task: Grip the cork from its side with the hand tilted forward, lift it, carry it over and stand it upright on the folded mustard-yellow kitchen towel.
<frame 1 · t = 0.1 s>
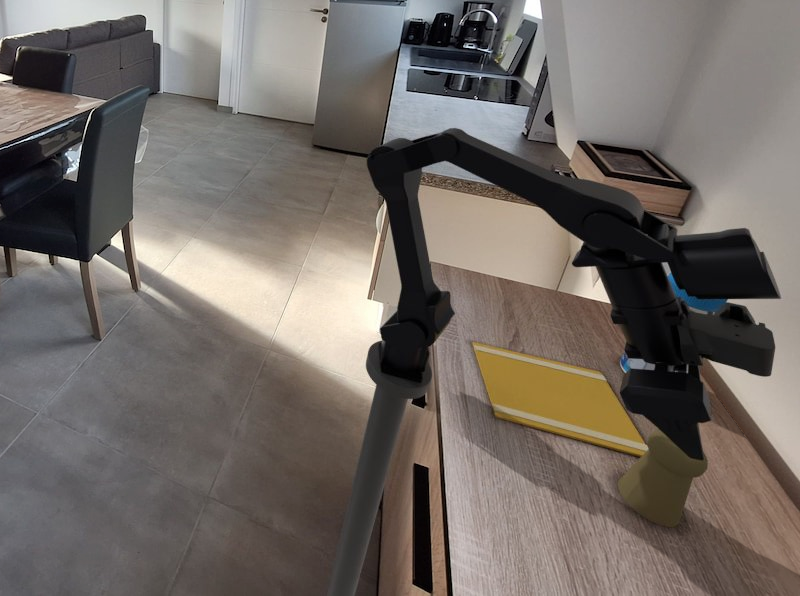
hand: (697, 431, 51), 17 cm above the sideboard, tool tilted 35°, fingers open, 9 cm apart
blue plastic jar: (649, 378, 78), on the sideboard
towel: (550, 394, 74), on the sideboard
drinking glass: (636, 332, 89), on the sideboard
cork: (647, 501, 59), on the sideboard
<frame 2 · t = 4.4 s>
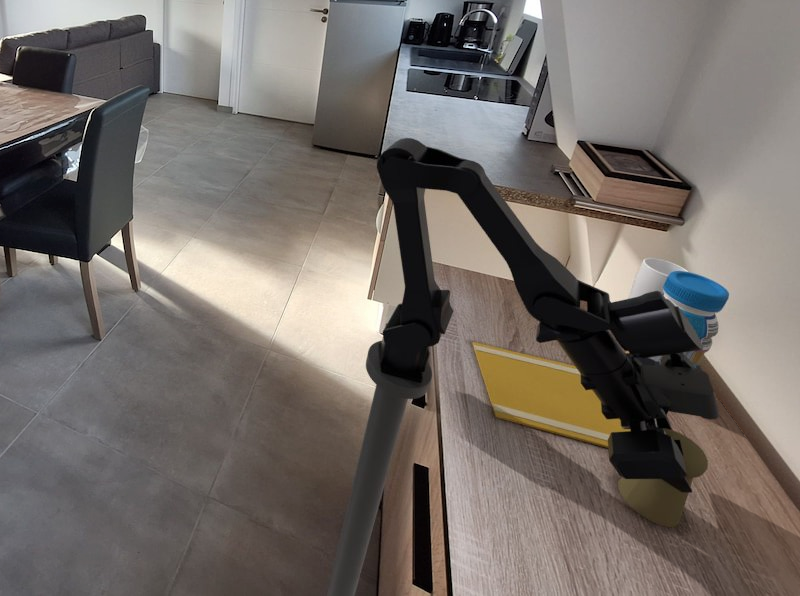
hand: (683, 474, 56), 7 cm above the sideboard, tool tilted 45°, fingers closed on cork, 5 cm apart
cork: (647, 501, 59), on the sideboard, touching gripper
everything else where it was.
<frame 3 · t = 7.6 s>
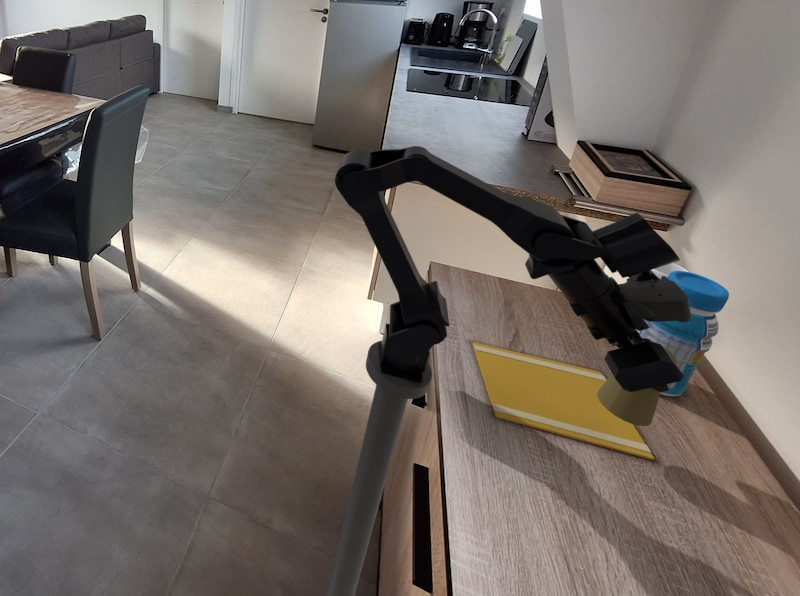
hand: (654, 375, 62), 13 cm above the sideboard, tool tilted 45°, fingers closed on cork, 5 cm apart
cork: (623, 407, 65), point 7 cm above the sideboard, touching gripper
everything else where it was.
when the fingers open (7 cm above the sideboard, at t = 11.1 s): cork stays where it is, resting on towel.
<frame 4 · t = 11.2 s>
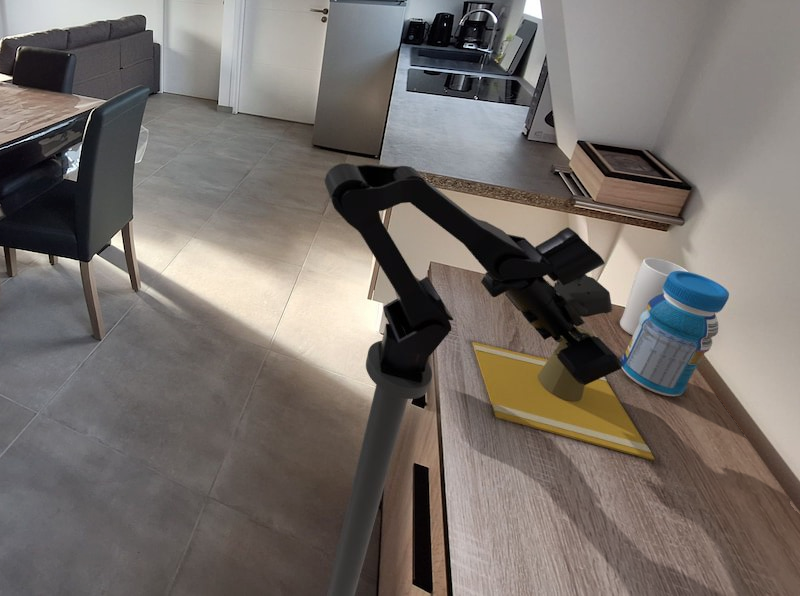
hand: (582, 356, 73), 7 cm above the sideboard, tool tilted 45°, fingers open, 5 cm apart
cork: (559, 386, 76), resting on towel
everything else where it was.
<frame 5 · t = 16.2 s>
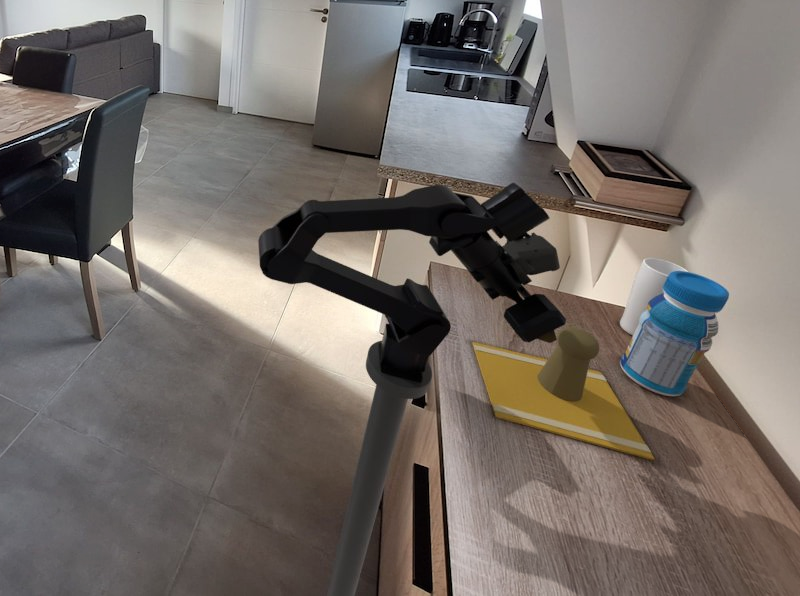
hand: (534, 318, 71), 14 cm above the sideboard, tool tilted 45°, fingers open, 9 cm apart
nothing on the sideboard moved.
at the end: cork inside the target area (2.7 cm from its centre), resting on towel; cork tilted 0°; the gripper is holding nothing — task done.
